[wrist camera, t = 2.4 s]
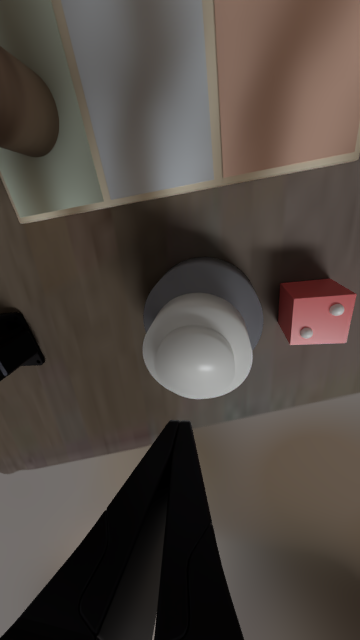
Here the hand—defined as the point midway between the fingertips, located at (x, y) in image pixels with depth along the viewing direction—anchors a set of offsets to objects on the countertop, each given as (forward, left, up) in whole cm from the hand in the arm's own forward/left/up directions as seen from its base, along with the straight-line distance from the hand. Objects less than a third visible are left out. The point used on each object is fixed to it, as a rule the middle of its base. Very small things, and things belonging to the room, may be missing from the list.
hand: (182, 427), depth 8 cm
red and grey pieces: (+3, 0, -12) cm, 12 cm away
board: (-2, +15, -12) cm, 19 cm away
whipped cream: (0, 0, -7) cm, 7 cm away
